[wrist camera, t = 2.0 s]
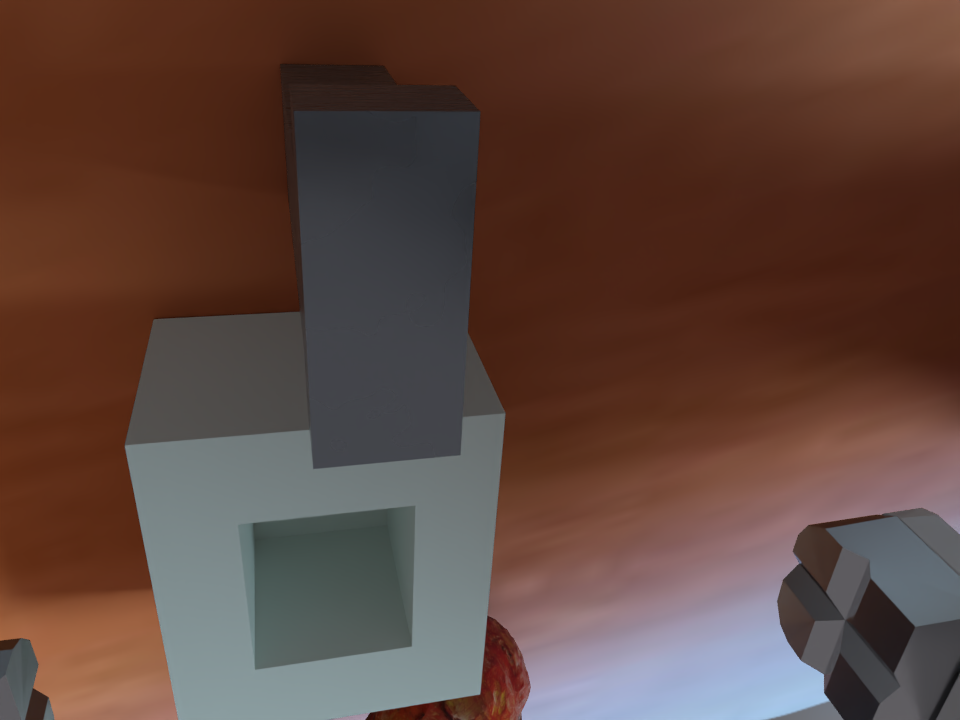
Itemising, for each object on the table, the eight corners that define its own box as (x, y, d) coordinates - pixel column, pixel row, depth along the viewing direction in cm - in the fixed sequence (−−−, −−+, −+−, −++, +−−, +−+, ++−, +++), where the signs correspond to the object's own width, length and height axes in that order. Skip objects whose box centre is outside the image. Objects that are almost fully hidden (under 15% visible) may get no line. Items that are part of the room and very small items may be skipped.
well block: (454, 303, 29) (505, 413, 23) (442, 556, 35) (480, 694, 29) (153, 319, 26) (124, 445, 21) (196, 586, 32) (183, 743, 27)
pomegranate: (338, 651, 39) (505, 786, 38) (260, 730, 32) (461, 899, 31) (417, 532, 38) (594, 667, 36) (353, 588, 31) (570, 759, 29)
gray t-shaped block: (383, 11, 23) (480, 111, 13) (383, 239, 27) (460, 455, 17) (276, 7, 23) (294, 110, 13) (290, 242, 26) (313, 469, 16)
